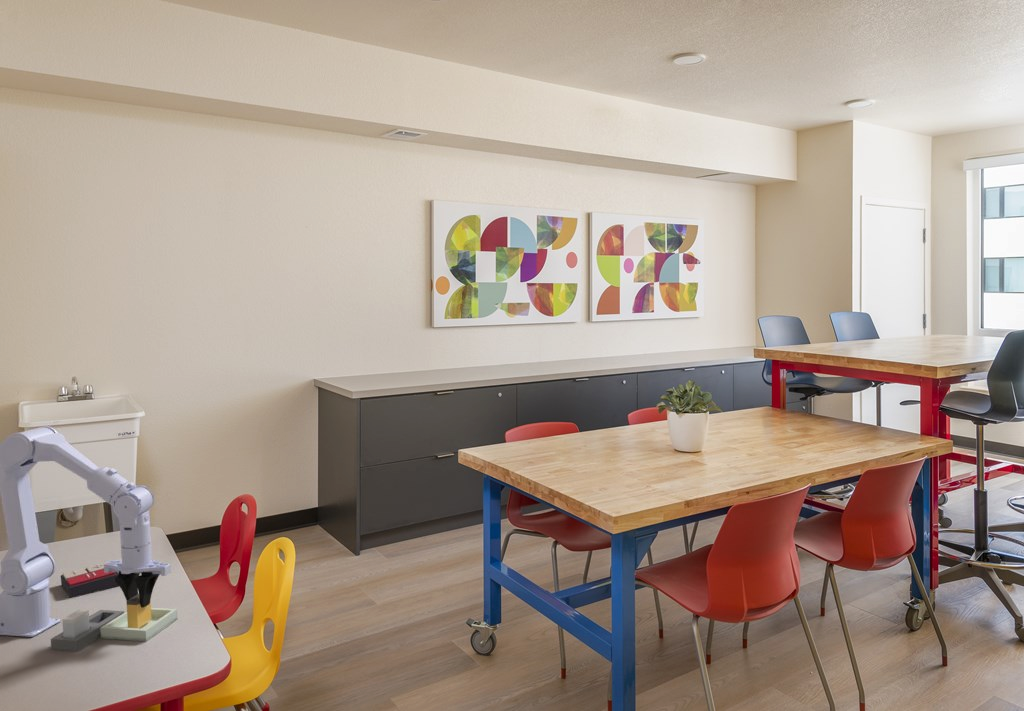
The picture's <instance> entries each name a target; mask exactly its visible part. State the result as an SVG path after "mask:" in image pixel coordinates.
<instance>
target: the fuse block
mask: <svg viewBox="0 0 1024 711" xmlns="http://www.w3.org/2000/svg"><path fill="white" fill-rule="evenodd" d="M123 613H125V611H123V610H111V609H110V610H108V609H107V610H106V609H99V610H98V611H96V612H94V613H92V614H91V615H89V625H90V629H88V630H86V631H85V632H83V633H82V634H80V635H78V636H77V637H75V638H65V637H63V631H62V632H59V634H57V635H55V636H53V637H52V638H50V648H51V650H52V651H53V650H54V651H68V652H69V651H70V652H79V651H80V650H82V649H84V648H85V647H86V646H88V645H90V644H91V643H92V642H94V641H96V640H98V639H99V638H101V632H100V628H101V627H102V626H104V625H106V624H107V623H109V622H110V621H112V620H114V619H115V618H117V617H118V616H120V615H122V614H123Z"/></svg>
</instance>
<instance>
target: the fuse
mask: <svg viewBox="0 0 1024 711" xmlns="http://www.w3.org/2000/svg"><path fill="white" fill-rule="evenodd" d="M89 616H90V612H89V610H85V609H84V610H83V609H78V610H75V611H73V612H72V613H71V614H69V615H67V616H65V617H64V618H62V620H61V622H62V632H63V637H65V638H75V637H77V636H78V635H80V634H82V633H83V632H85V631H86V630H88V629H90V625H89Z"/></svg>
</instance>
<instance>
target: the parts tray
mask: <svg viewBox="0 0 1024 711" xmlns="http://www.w3.org/2000/svg"><path fill="white" fill-rule="evenodd" d="M177 620H178V608H165V607H163V608H161V607H151V620H150V621H149V622H147V623H146V624H144V625H143V626H141V627H140V628H128V620H127V610H126V611H124V613H123V614H122V615H120V616H118V617H117V618H115V619H114V620H112V621H110V622H109V623H107V624H106V625H104V626H102V627H101V628H100V632H101V637H100V639H102V640H103V639H105V640H118V641H119V640H122V641H135V642H148V641H149V640H150V639H152V638H154V637H155V636H156V635H158V634H159V633H160V632H162V631H163V630H165V629H166V628H167V627H168V626H170V625H172V624H173V623H174V622H176V621H177Z"/></svg>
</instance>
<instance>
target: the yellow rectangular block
mask: <svg viewBox="0 0 1024 711" xmlns="http://www.w3.org/2000/svg"><path fill="white" fill-rule="evenodd" d="M151 608H152V604H151V600H150V604H149V605H147V606H146V607H144V608H141V605H140V599H139V593H138V594H137V595H135V596H134V597H132V598H131V599H129V600H127V601H126V611H127V620H128V628H140V627H141V626H143V625H144V624H146V623H147V622H149V621H150V620H151Z"/></svg>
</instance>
